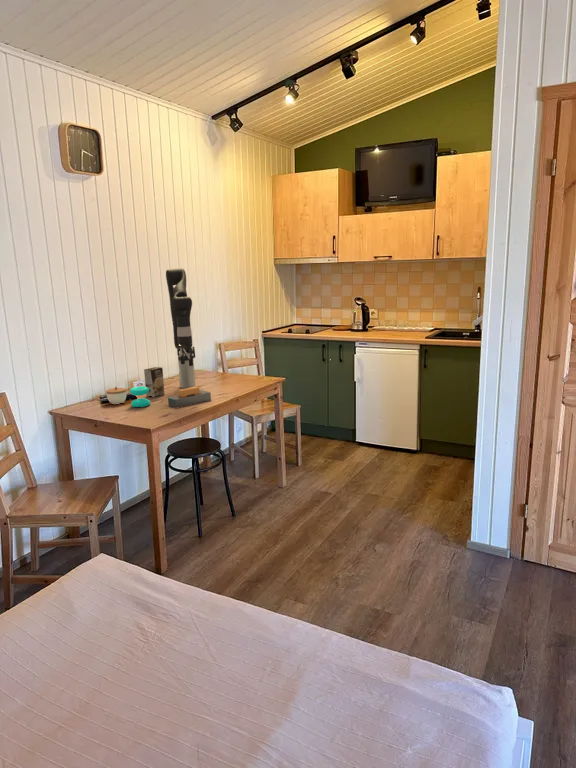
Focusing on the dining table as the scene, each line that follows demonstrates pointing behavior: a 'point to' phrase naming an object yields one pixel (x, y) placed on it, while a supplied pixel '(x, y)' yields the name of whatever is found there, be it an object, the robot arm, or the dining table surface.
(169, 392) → the dining table surface
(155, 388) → the coffee box
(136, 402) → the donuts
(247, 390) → the dining table surface
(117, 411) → the dining table surface
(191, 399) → the grey slotted block
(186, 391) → the long orange brick
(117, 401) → the lidded jar
